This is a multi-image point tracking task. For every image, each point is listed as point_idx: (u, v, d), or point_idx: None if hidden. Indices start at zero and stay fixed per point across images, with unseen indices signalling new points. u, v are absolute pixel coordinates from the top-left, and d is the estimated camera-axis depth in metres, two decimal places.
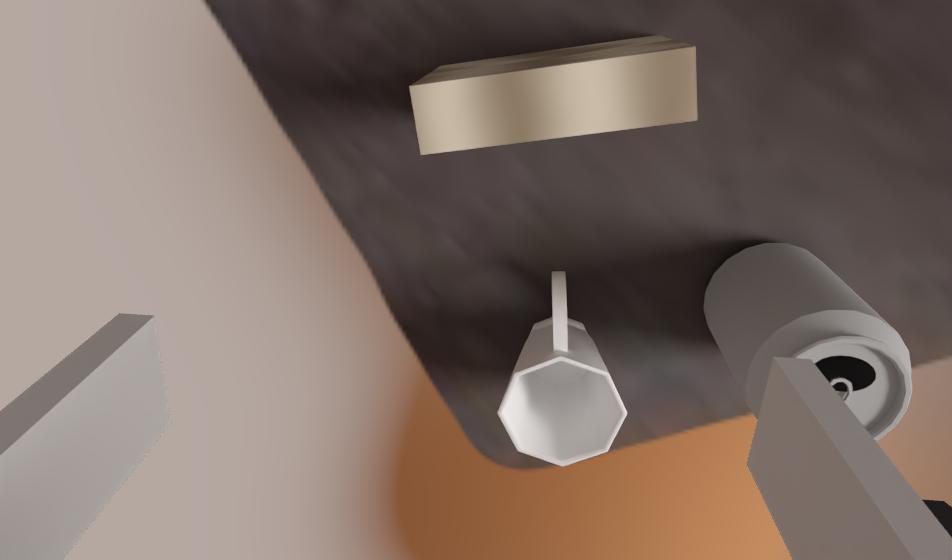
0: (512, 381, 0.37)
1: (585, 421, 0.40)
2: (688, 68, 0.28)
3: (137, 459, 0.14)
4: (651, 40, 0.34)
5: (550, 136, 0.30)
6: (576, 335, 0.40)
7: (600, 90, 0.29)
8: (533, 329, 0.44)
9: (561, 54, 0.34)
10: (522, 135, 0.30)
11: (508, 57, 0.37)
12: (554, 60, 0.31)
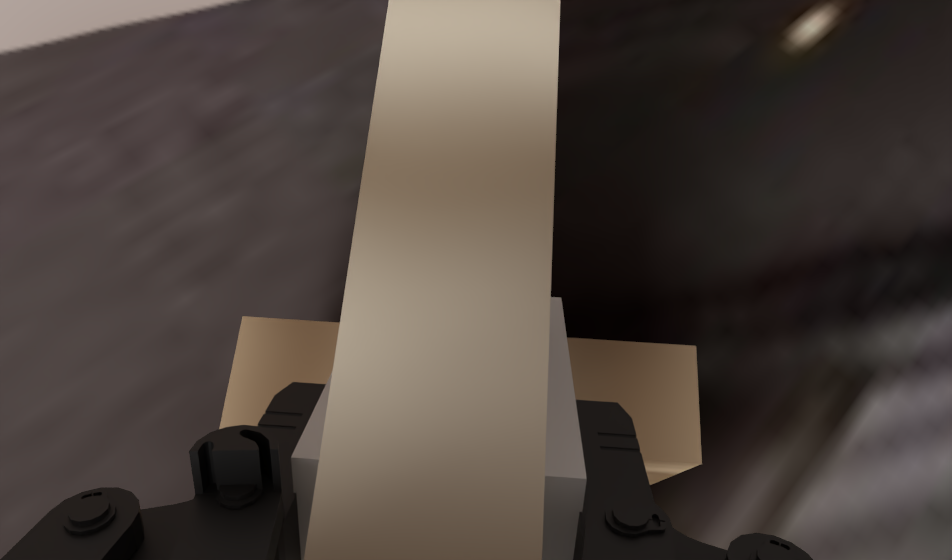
0: None
1: None
2: None
3: None
4: None
5: (357, 249, 0.10)
6: None
7: (454, 410, 0.09)
8: None
9: None
10: (379, 181, 0.11)
11: None
12: None
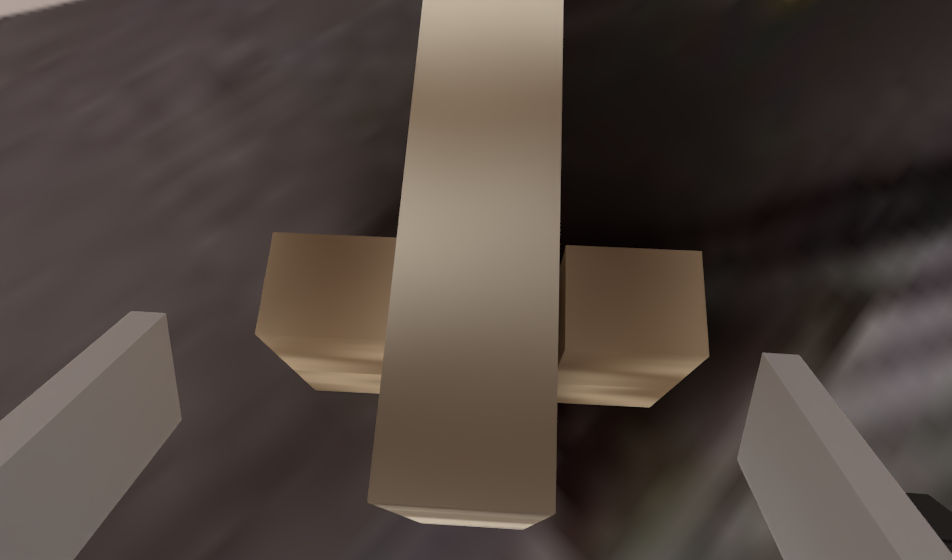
0: None
1: None
2: (504, 489, 0.11)
3: (149, 455, 0.14)
4: None
5: (409, 164, 0.13)
6: None
7: (489, 280, 0.12)
8: None
9: None
10: (424, 113, 0.14)
11: None
12: None
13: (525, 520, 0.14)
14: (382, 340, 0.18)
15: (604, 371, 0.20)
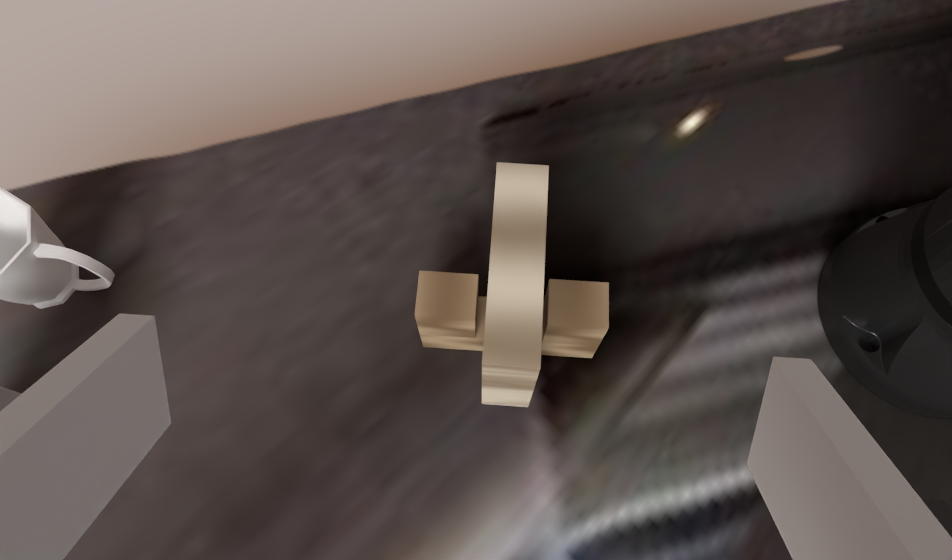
0: (24, 203, 0.44)
1: None
2: (524, 361, 0.35)
3: (137, 459, 0.14)
4: None
5: (492, 253, 0.37)
6: (49, 280, 0.47)
7: (520, 295, 0.37)
8: None
9: None
10: (496, 234, 0.38)
11: None
12: None
13: (530, 383, 0.38)
14: (469, 319, 0.42)
15: (566, 336, 0.44)
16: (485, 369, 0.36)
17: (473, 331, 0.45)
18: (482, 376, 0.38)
